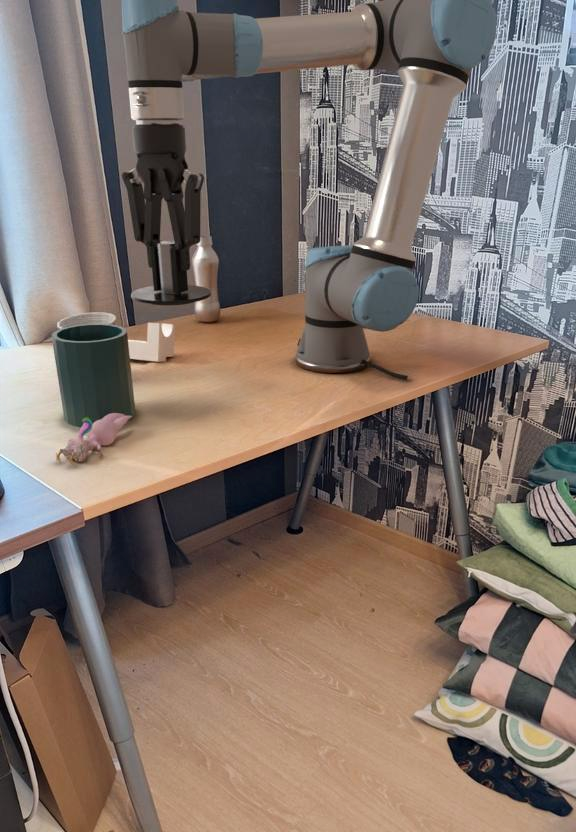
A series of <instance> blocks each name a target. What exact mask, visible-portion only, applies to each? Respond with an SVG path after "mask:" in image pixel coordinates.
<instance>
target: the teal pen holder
mask: <svg viewBox="0 0 576 832" xmlns="http://www.w3.org/2000/svg"><path fill="white" fill-rule="evenodd" d="M128 337H129V336H128V329H127V328H125V327H123V326H122V325H117V324H114V325H112V324H83V325H75V326H69V327H65V328H62V329H59V328H58V329H57V330H54V332H52V333H51V342H52V348H53V354H54V361H55V368H56V374H57V380H58V381H57V382H58V385H59V386H58V387H59V393H60V401H61V406H62V412H63V419H64V421H65V423H67V424H68V425H71V426H72V427H76V428H81V427H82V426H83V424H84V422H82V420H83V419H84V418H89V419H90V420H91V421H92V424H93V423H94V422H96V421H97V420H101V419H103V418H104V417H105V416H106V415H108V414H111V413H120V414H124V415H125V416H132V418H129V419H128V420H127V422H129V421H131V420H133V419H134V418H135V416H136V415H137V414H136V404H135V403H136V402H135V396H134V395H135V393H134V385H133V377H132V368H131V367H132V365H131V359H130V355H129V346H128V340H129V338H128Z"/></svg>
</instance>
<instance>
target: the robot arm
mask: <svg viewBox="0 0 576 832" xmlns="http://www.w3.org/2000/svg"><path fill="white" fill-rule="evenodd" d="M492 3H493V2H492V0H379V1H375V2H369V3H358V4H357V5H356V6H355V7H354V8H353V9H352V11H344V12H330V13H329V12H328V13H317V14H301V15H288V16H287V15H286V16H273V17H259V18H254V17H253V16H250V15H243V14H242V15H241V14H237V13H236V12H233V13H211V12H210V13H209V12H191V11H190V12H189V11H184V10H181V9H179V8H180V7H179V4H178V0H121V20H122V21H121V23H122V24H121V25H122V26H121V27H122V30H121V35H122V37H123V45H124V56H125V64H126V74H127V84H128V97H129V108H130V118H131V120H133V121H135V124H134V125H133V126H132V127H131V132H132V142H133V143H132V144H133V151H134V152H135V154H136V162H135V164H134V165H135V167H134V168H132V169H131V170H130V171H123V172H122V174H121V179H122V181H123V184H124V186H125V189H126V193H127V198H128V199H127V200H128V205H129V211H130V217H131V224H132V231H133V237H134V240H135V241H136V242H138V243H139V242H140V243H142V244H143V245H144V246H145V248H146V256H147V265H148V267H149V268H150V269H151V272H152V273H151V274H152V283H153V284H152V286H154V291H160V290H161V286H160V274H159V262H158V250H157V242H162V241H163V240H161V226H162V205H163V203H162V202H163V200H164V202H166V207H167V211H168V215H169V216H168V217H169V221H170V226H171V232H172V236H173V241H174V242H175V246H173V249H171V254H172V267H173V281H174V293H178V294H179V293H182V292H185V291H188V285H189V283H188V282H189V281H188V271H190V270H191V256H190V254H191V253H190V249H191V247H192V246H195V245H196V244H198V243H199V242H200V236H201V208H202V207H201V205H202V204H201V202H202V201H201V199H202V197H201V193H202V192H201V191H202V189H203V184H204V182H205V176H204V174H203V173H197V172H194V171H193V170H191V169H189V165H188V163H187V161H186V158H185V157H186V156H185V155H186V151H187V141H186V127H184V124H181V121H184V120H185V108H184V107H185V106H184V93H183V82H184V83H185V82H193V81H198V80H209V79H218V78H225V77H227V78H228V77H229V78H230V77H231V78H235V79H238V78H241V77H242V78H243V77H253V76H254V75H258V74H267V73H278V72H288V71H289V72H290V71H300V70H311V69H320V68H332V67H341V66H353V67H354V68H355V69H356V70H357V71H361V72H362V71H373V70H376V71H377V70H378V71H393V72H396V73H397V75H398V77H399V80H400V81H401V84H402V89H401V93H400V96H399V101H398V105H397V108H396V112H395V116H394V119H393V123H392V128H391V131H390V134H389V139H388V143H387V146H386V150H385V154H384V158H383V162H382V165H381V170H380V173H379V176H378V180H377V184H376V188H375V192H374V196H373V198H372V199H373V200H372V204H371V207H370V211H369V215H368V219H367V223H366V226H365V230H364V234H363V236H362V237H361V238H359V239H358V240H356V241H354V242H353V244H350V245H332V246H317V247H312V248H310V249H309V250H308V251H307V253H306V258H305V266H304V271H305V287H304V289H305V290H304V291H305V292H304V293H305V296H304V297H305V298H304V299H305V301H304V306H305V308H304V309H305V310H304V312H305V313H304V315H305V316H304V327H303V331H302V333H301V336H300V338H299V339H298V342H297V345H296V347H297V348H296V353H295V364H296V365H297V366H299V367H300V368H302V369H304V370H307V371H311V372H316V373H322V374H323V373H325V374H347V373H353V372H358V371H361V370H364V369H366V368H367V367H370V368H372V369H374V370H376V371H379V372H381V373H383V374H385V375H387V376H389V377H393V378H396V379H401V380H405V381H406V380H408V378H409V377H408V375H406V374H403V373H402V374H401V373H397V372H393V371H391V370H389V369H386V368H384V367H383V366H380V365H378V364H375V363H373V362H370V359H371V354H370V349H369V345H368V342H367V338H366V335H365V331H364V329H365V330H366V329H367V330H370V331H375V332H382V333H383V332H389V331H392V330H394V329H396V328H398V327H399V326H401V325H403V324H404V323H405V322H406V321H407V320H408V319H409V318H410V317H411V315H412V314H413V313H414V310H415V308H416V306H417V303H418V300H419V295H420V290H419V289H420V288H419V284H418V283H417V278H416V276H415V275H414V274H413V272H414V269H415V266H416V262H417V258H416V257H415V255H414V253H413V250H412V245H413V241H414V237H415V234H416V230H417V228H418V224H419V220H420V217H421V213H422V209H423V207H424V202H425V199H426V196H427V192H428V189H429V185H430V183H431V182H430V181H431V179H432V176H433V171H434V167H435V165H436V160H437V158H438V154H439V150H440V148H441V144H442V140H443V136H444V132H445V130H446V125H447V122H448V118H449V116H450V115H449V114H450V111H451V108H452V104H453V101H454V99H455V97H457V96H459V95H460V94H461V93H463V92H464V91H465V90H466V89H467V87H468V86H467V85H468V82H469V80H470V79H469V78H470V76H471V72H472V69H474V68H475V67H477V66H479V65H480V64H481V63H482V62H483V61H485V60H486V59H487V58H488V56H489V55H490V53H491V51H492V49H493V48H494V47H493V46H494V43H495V40H496V35H497V14H496V9H495V8H494V7H493V4H492ZM142 183H143V184H142ZM182 185H184V186H185V188H184V191H183V186H182ZM183 200H184V201H183Z"/></svg>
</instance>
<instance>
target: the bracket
mask: <svg viewBox="0 0 576 832" xmlns="http://www.w3.org/2000/svg"><path fill="white" fill-rule="evenodd" d="M175 330H176V325H175V324H173V323H160V322H147V331H146V332H147V333H146V334H147V335H146V337H147V338H146V340H136V339H128V346H129V355H130V360H138V361H147V362H157V363H159V362H160V363H161V362H167V358H168V357H174V356H175V355H174V354H175Z"/></svg>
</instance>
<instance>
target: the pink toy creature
mask: <svg viewBox="0 0 576 832" xmlns="http://www.w3.org/2000/svg"><path fill="white" fill-rule="evenodd" d="M129 418H132V416H125V415H124V414H120V413H111V414H108V415H106V416H105V417H104V418H103V419H101V420H97V421H96V422H94V423H93V424H92V421H91V420H90V419H89V418H84V419H83V420H82V422H84V424H83V426H82V427H80V429H79V431H78V435H77V437H75V438H70V439H68V440H67V441H68V443H67V444H66V446H65V447H64V448H60V449H59V451H58V453H57V452H55V455H56V456H55V457H56V460H55V461H57V462H58V464H60V463H61V462H62V460H61V454H62V455H63V456H64V457H65V459H67V460H68V465H71V467H72V468H73V467H74V466H75V464H74V462H73V460H75V462H77V463H81V462H83V461H85V460H86V459H87V456H88V454H89V453H88V452H91V451H92V450H93V449H94V448H96V449H97V450H98V451H101V450H102V446H110V445H111V444H112V443H113V442H114V441H115V439H116V436H117V434H118V431H120V430H121V429H122V428H123V427H124V426H125V425H126V423H127V422H128V421H127V420H128V419H129ZM132 419H133V418H132ZM85 435H86V438H84V436H85Z"/></svg>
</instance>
